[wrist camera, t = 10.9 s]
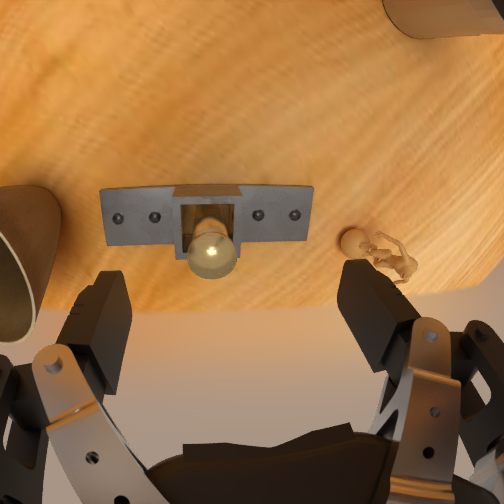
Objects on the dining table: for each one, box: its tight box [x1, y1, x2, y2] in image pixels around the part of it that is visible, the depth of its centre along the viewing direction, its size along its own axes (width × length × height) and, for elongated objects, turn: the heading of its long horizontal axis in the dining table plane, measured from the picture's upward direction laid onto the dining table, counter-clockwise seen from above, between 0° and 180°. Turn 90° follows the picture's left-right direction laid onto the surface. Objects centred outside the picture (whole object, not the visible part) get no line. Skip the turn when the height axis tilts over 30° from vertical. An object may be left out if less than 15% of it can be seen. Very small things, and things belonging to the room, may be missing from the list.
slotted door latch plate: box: [99, 184, 314, 260], centre depth 32 cm, size 25×7×5 cm, turn 87°
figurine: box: [341, 229, 418, 284], centre depth 33 cm, size 8×6×12 cm
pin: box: [187, 204, 237, 279], centre depth 29 cm, size 4×4×11 cm
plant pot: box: [0, 186, 62, 345], centre depth 22 cm, size 15×15×16 cm
